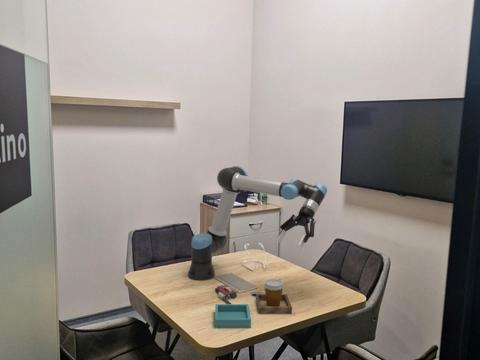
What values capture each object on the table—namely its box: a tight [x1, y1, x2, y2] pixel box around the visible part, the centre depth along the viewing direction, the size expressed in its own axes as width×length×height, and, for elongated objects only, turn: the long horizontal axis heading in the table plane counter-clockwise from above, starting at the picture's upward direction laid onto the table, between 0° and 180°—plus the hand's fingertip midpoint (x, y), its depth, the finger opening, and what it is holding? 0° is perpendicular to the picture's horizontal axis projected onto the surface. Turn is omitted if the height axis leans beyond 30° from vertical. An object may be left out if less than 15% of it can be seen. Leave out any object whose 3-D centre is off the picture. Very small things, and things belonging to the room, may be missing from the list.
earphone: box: [241, 242, 267, 272], centre depth 255 cm, size 14×17×18 cm
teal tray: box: [214, 303, 252, 329], centre depth 184 cm, size 15×15×4 cm
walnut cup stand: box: [255, 293, 293, 315], centre depth 198 cm, size 15×15×3 cm
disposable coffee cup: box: [263, 278, 285, 306], centre depth 197 cm, size 10×10×12 cm
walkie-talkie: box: [214, 284, 238, 304], centre depth 208 cm, size 9×4×20 cm
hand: (288, 244), depth 202 cm, fingers open, 13 cm apart
